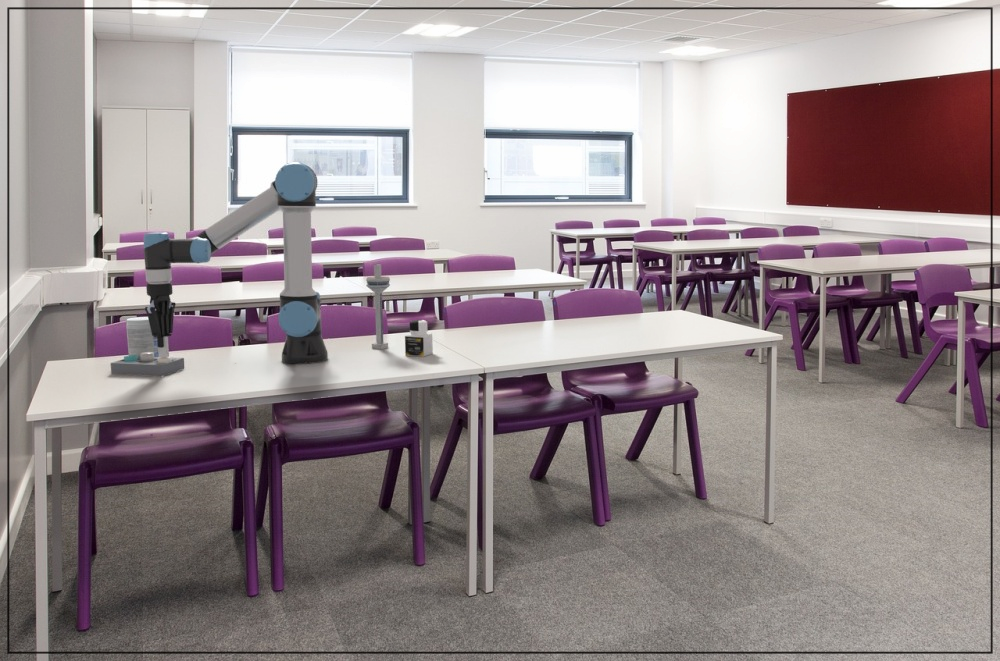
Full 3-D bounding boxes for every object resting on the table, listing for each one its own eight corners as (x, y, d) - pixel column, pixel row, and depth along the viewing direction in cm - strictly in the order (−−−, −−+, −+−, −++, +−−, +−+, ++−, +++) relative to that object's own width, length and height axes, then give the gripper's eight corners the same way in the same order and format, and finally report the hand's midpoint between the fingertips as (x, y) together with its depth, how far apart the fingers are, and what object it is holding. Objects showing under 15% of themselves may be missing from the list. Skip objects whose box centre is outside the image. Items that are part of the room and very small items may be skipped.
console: (184, 368, 286) (183, 357, 285) (162, 376, 274) (161, 365, 274) (135, 366, 290) (134, 356, 289) (111, 374, 278) (110, 363, 278)
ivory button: (174, 366, 282) (173, 356, 282) (166, 368, 278) (166, 359, 278) (163, 365, 283) (162, 356, 282) (155, 368, 279) (154, 358, 279)
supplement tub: (162, 362, 297) (159, 318, 294) (132, 365, 291) (129, 321, 289) (155, 357, 305) (152, 315, 302) (126, 361, 299) (123, 317, 297)
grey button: (157, 361, 283) (156, 352, 283) (149, 364, 279) (148, 354, 279) (146, 361, 284) (145, 351, 284) (138, 363, 280) (137, 354, 280)
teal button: (140, 364, 285) (140, 355, 284) (133, 367, 281) (132, 357, 280) (129, 364, 286) (129, 355, 285) (121, 366, 282) (121, 357, 281)
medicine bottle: (405, 355, 305) (404, 321, 303) (414, 352, 311) (413, 318, 309) (423, 357, 302) (422, 322, 300) (433, 353, 309) (432, 319, 307)
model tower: (383, 350, 315) (381, 266, 310) (363, 349, 318) (361, 265, 314) (396, 346, 322) (393, 264, 318) (376, 345, 326) (374, 263, 321)
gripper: (160, 280, 283) (165, 353, 287) (135, 284, 271) (140, 360, 275) (181, 280, 282) (186, 353, 285) (157, 284, 269) (162, 361, 273)
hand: (163, 357), depth 280 cm, fingers closed
